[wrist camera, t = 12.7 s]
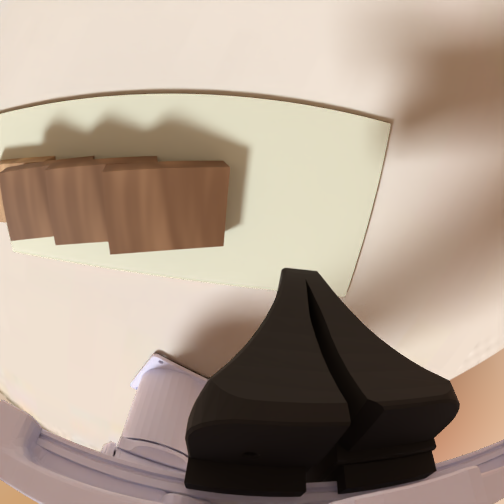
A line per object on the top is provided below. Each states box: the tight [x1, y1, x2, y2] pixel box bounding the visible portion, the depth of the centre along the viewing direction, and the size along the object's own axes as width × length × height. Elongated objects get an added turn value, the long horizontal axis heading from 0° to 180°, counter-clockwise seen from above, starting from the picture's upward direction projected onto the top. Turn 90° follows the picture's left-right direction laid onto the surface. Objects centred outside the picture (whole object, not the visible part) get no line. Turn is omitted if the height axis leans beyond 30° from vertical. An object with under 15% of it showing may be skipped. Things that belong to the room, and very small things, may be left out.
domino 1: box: [0, 156, 56, 223], centre depth 18 cm, size 2×5×7 cm
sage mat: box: [0, 94, 391, 297], centre depth 19 cm, size 30×13×1 cm, turn 84°
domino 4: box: [102, 161, 230, 255], centre depth 17 cm, size 2×5×7 cm
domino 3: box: [45, 156, 158, 245], centre depth 17 cm, size 2×5×7 cm
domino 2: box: [0, 156, 94, 241], centre depth 17 cm, size 2×5×7 cm
